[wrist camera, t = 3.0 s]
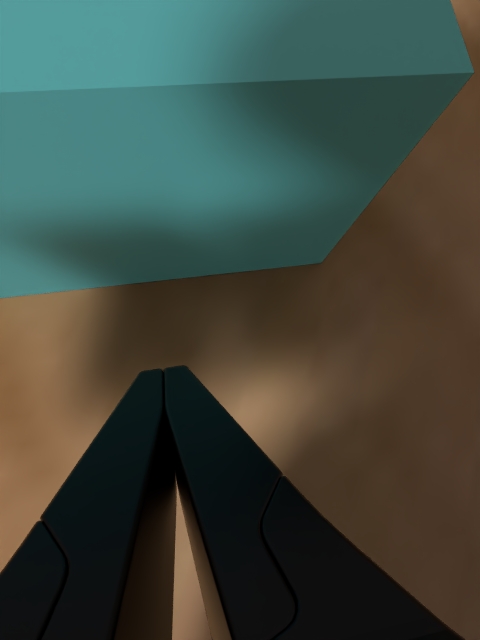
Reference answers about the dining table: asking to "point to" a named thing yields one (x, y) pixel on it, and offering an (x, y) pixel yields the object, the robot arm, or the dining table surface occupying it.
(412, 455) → the dining table surface
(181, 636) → the dining table surface
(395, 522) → the dining table surface
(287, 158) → the t block
